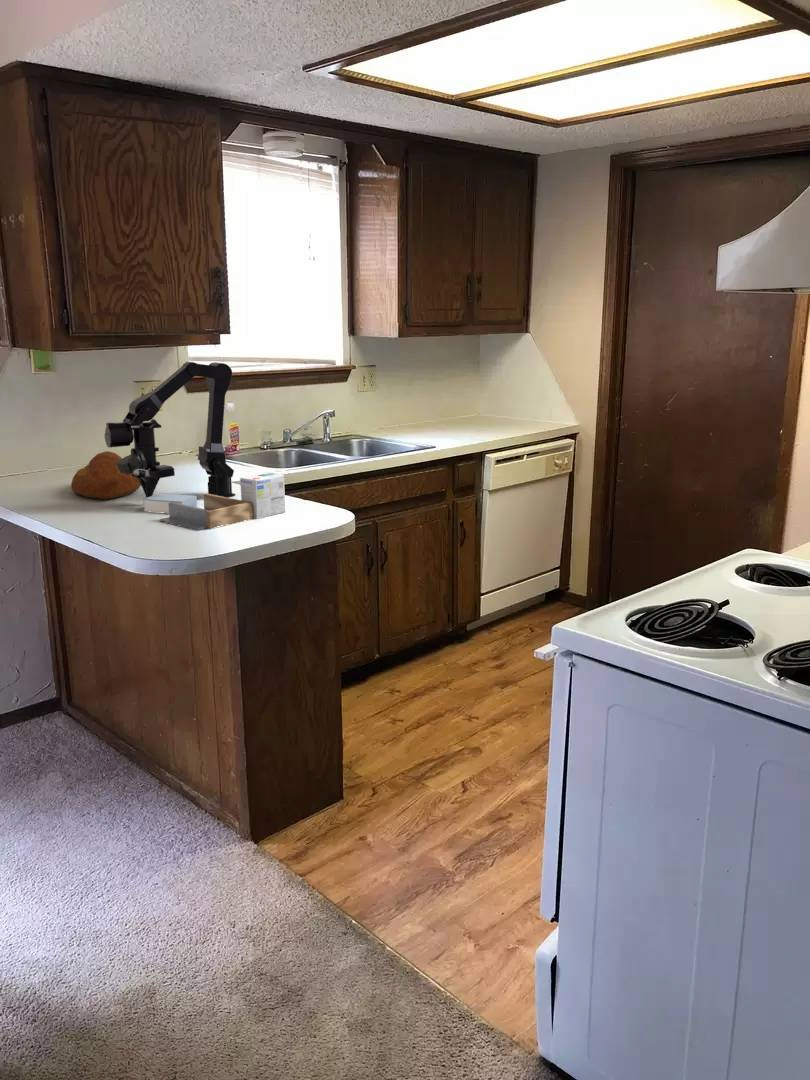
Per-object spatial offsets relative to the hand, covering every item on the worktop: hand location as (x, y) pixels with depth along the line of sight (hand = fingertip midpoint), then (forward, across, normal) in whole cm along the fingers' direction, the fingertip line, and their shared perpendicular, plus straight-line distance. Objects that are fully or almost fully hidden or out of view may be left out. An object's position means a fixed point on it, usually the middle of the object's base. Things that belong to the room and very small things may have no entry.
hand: (149, 498), depth 247 cm
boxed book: (+2, +10, 0) cm, 10 cm away
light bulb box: (+2, +34, +13) cm, 37 cm away
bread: (+2, -27, +3) cm, 27 cm away
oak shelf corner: (+2, +27, 0) cm, 27 cm away
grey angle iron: (+2, +27, -8) cm, 29 cm away
